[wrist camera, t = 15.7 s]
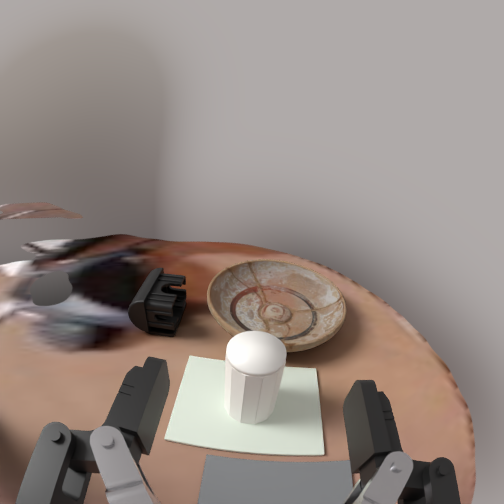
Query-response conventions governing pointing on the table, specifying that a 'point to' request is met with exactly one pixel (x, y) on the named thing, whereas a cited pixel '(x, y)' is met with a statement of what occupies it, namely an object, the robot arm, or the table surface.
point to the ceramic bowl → (277, 302)
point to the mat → (274, 482)
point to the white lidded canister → (253, 375)
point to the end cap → (159, 304)
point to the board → (239, 434)
